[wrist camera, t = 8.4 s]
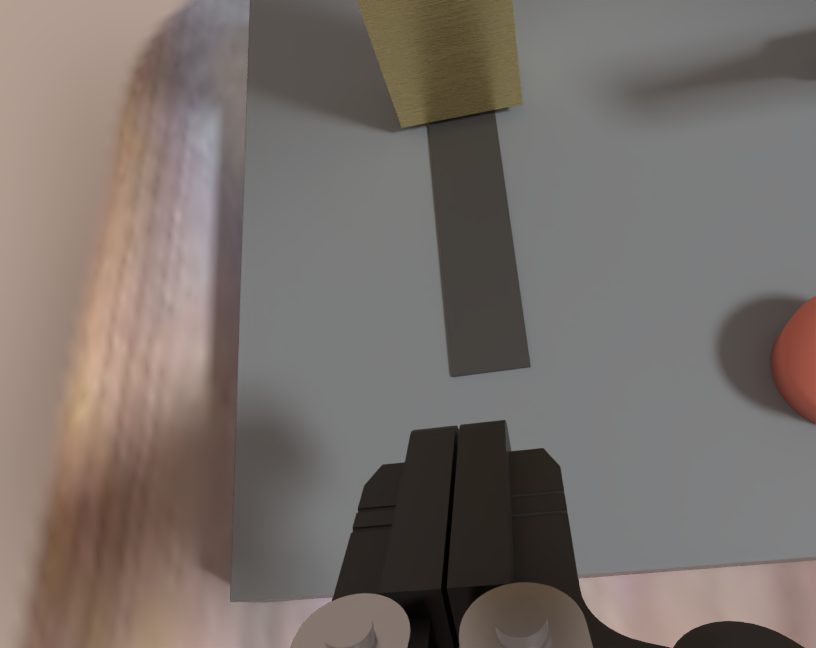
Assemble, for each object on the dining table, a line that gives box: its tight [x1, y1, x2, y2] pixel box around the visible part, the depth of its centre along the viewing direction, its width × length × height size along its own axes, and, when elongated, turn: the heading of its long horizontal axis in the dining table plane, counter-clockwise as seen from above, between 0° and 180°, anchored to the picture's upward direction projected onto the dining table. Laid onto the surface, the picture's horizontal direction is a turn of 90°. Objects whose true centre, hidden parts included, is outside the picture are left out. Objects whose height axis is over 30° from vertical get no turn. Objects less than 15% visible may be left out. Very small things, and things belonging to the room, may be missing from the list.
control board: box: [230, 0, 816, 602], centre depth 19 cm, size 24×20×3 cm
